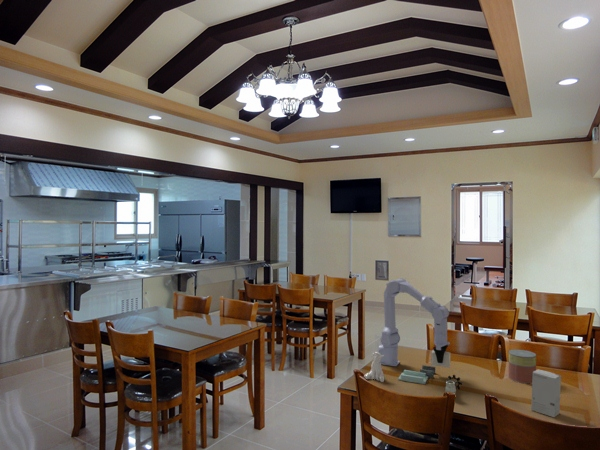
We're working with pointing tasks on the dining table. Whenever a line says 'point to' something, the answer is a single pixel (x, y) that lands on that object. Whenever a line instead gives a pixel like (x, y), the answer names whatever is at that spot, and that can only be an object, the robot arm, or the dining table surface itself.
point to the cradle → (413, 377)
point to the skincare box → (546, 393)
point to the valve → (452, 384)
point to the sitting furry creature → (376, 368)
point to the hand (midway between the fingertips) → (440, 361)
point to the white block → (445, 361)
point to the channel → (428, 370)
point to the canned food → (521, 365)
